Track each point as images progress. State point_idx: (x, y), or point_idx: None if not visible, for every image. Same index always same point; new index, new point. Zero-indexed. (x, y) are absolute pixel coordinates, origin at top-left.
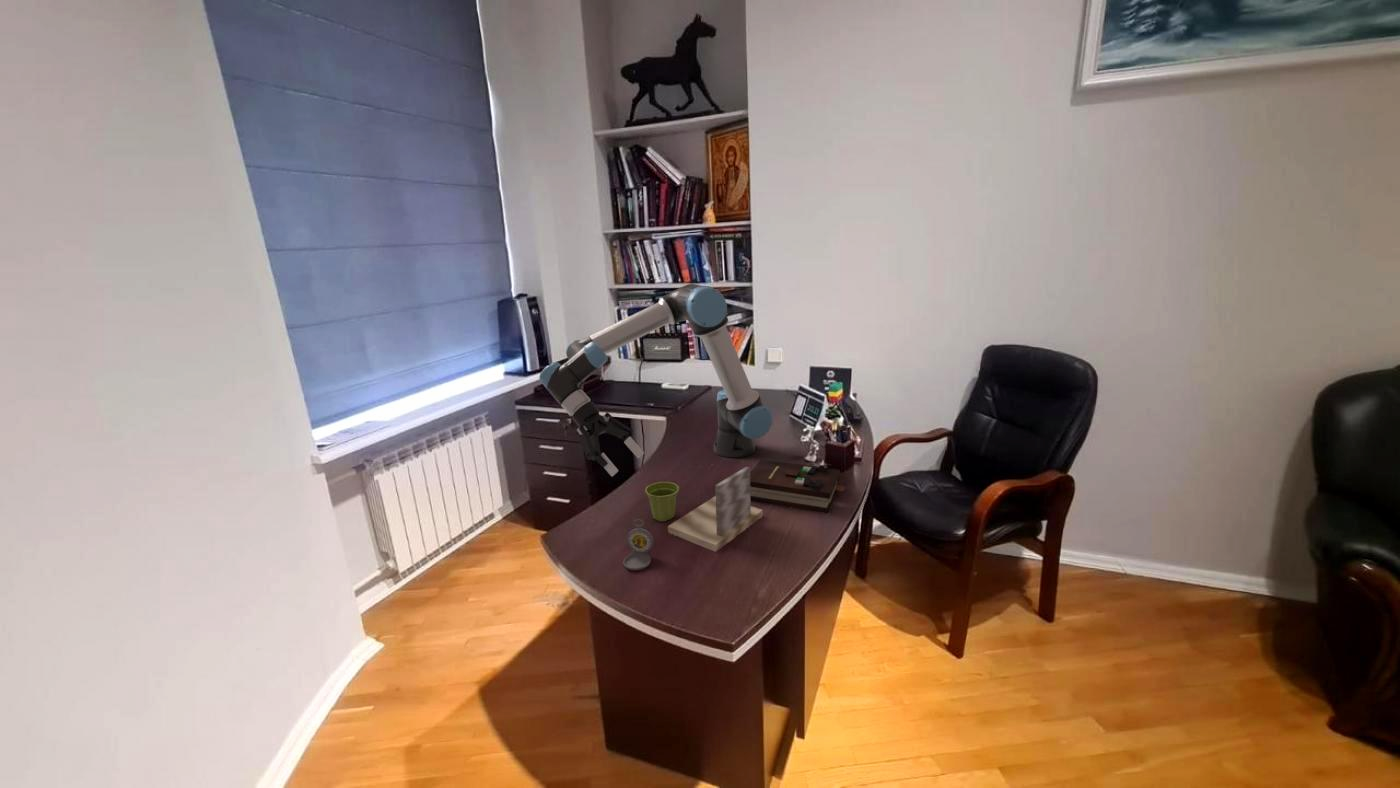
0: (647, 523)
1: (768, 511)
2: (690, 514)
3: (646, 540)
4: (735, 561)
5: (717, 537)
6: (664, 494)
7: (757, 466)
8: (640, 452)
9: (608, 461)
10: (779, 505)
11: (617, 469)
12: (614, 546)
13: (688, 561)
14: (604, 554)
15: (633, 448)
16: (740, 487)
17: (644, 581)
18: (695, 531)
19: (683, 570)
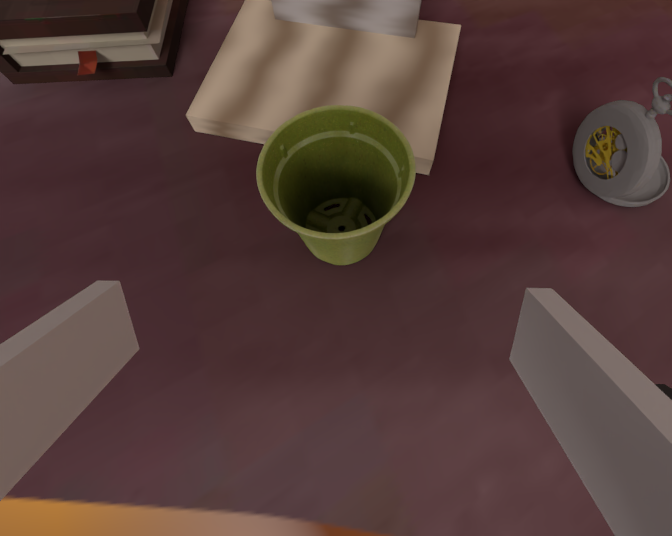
0: (404, 259)
1: (223, 14)
2: None
3: (596, 136)
4: (468, 4)
5: (425, 32)
6: (287, 215)
7: (14, 13)
8: (108, 305)
9: (635, 370)
10: (186, 4)
11: (535, 294)
12: (587, 285)
13: (526, 77)
14: (645, 289)
15: (60, 384)
16: None
17: (666, 124)
18: (424, 84)
19: (566, 72)
